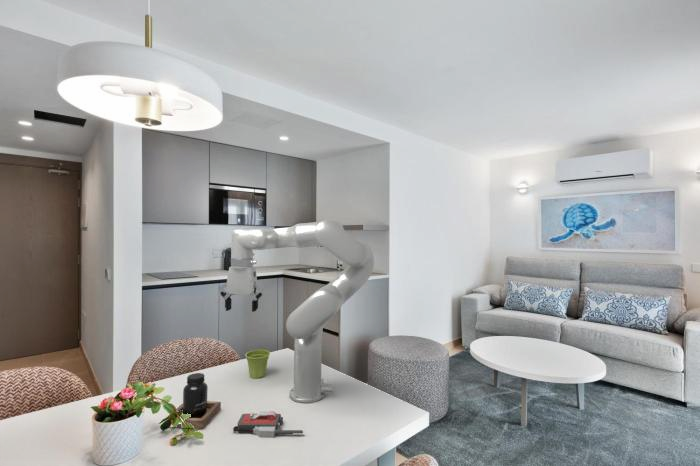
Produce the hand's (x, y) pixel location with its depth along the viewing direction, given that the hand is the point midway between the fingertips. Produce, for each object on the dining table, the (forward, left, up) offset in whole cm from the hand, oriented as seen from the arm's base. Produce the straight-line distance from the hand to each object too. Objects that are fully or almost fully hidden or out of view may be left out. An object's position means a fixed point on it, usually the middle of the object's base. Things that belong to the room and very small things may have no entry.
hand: (241, 310), depth 127 cm
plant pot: (-2, -12, -28) cm, 31 cm away
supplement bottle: (+6, +21, -28) cm, 35 cm away
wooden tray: (+6, +21, -28) cm, 36 cm away
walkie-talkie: (-19, +24, -29) cm, 42 cm away
